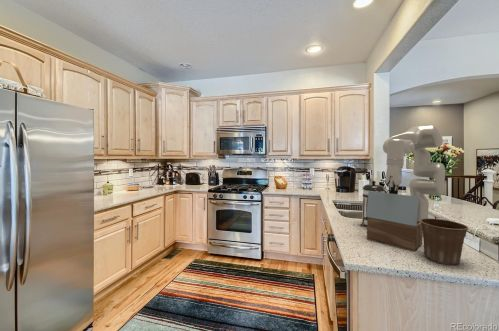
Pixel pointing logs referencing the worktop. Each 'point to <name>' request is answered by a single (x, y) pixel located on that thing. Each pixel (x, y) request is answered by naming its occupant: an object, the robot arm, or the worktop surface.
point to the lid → (393, 207)
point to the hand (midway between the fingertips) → (393, 198)
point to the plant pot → (443, 240)
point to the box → (395, 233)
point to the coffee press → (366, 190)
